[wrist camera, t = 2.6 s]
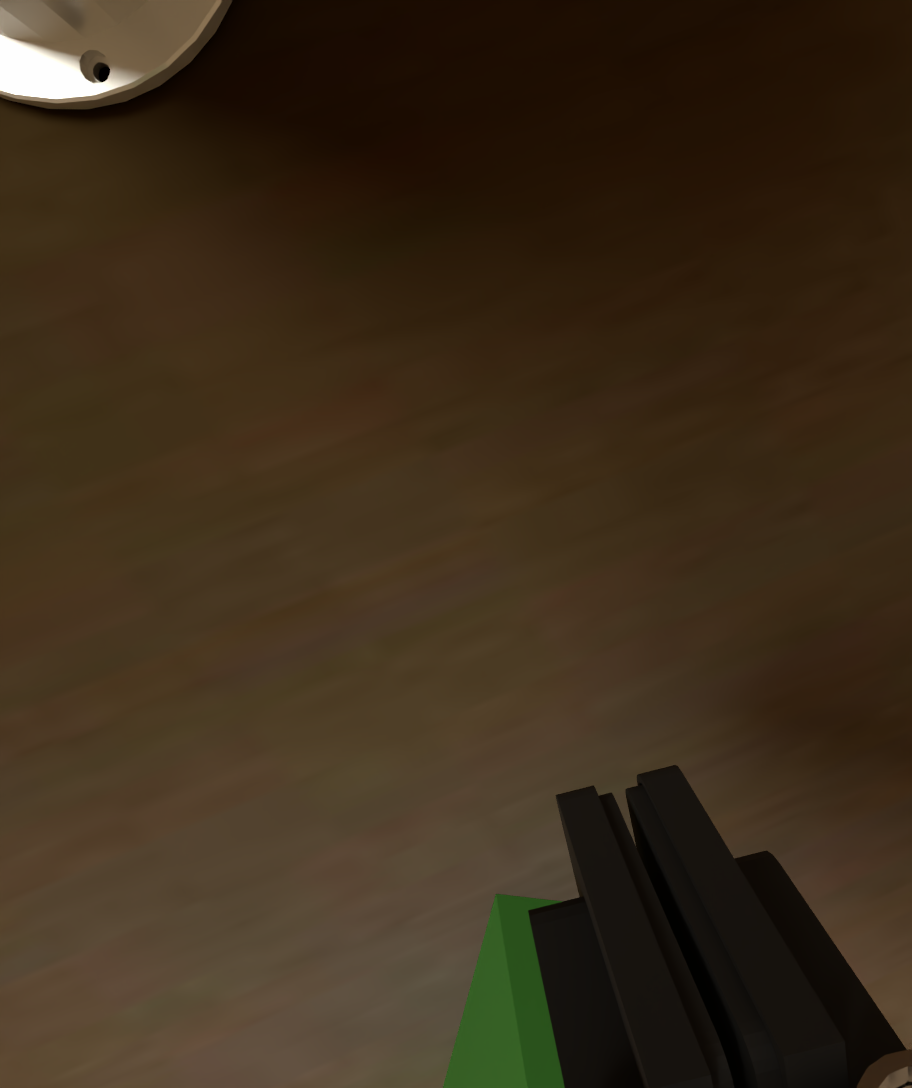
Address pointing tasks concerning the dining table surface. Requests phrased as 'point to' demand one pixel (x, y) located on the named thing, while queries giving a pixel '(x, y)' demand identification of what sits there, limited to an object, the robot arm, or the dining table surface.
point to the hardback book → (506, 1009)
